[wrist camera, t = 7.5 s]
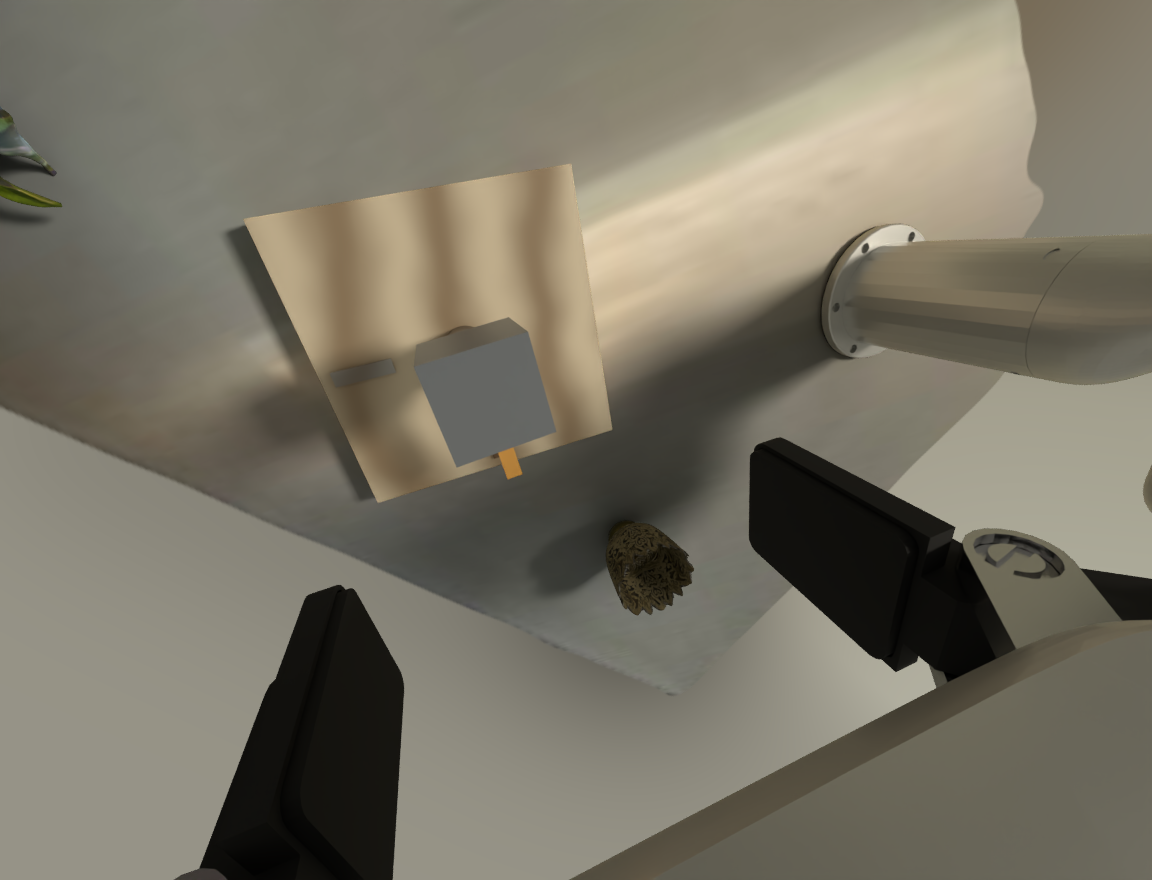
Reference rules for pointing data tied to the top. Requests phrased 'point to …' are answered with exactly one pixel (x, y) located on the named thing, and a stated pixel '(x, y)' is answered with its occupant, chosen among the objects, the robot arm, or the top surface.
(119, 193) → the top surface
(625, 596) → the cup
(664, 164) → the top surface
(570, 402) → the block
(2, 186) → the passion flower
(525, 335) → the cap
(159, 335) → the top surface
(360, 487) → the top surface
